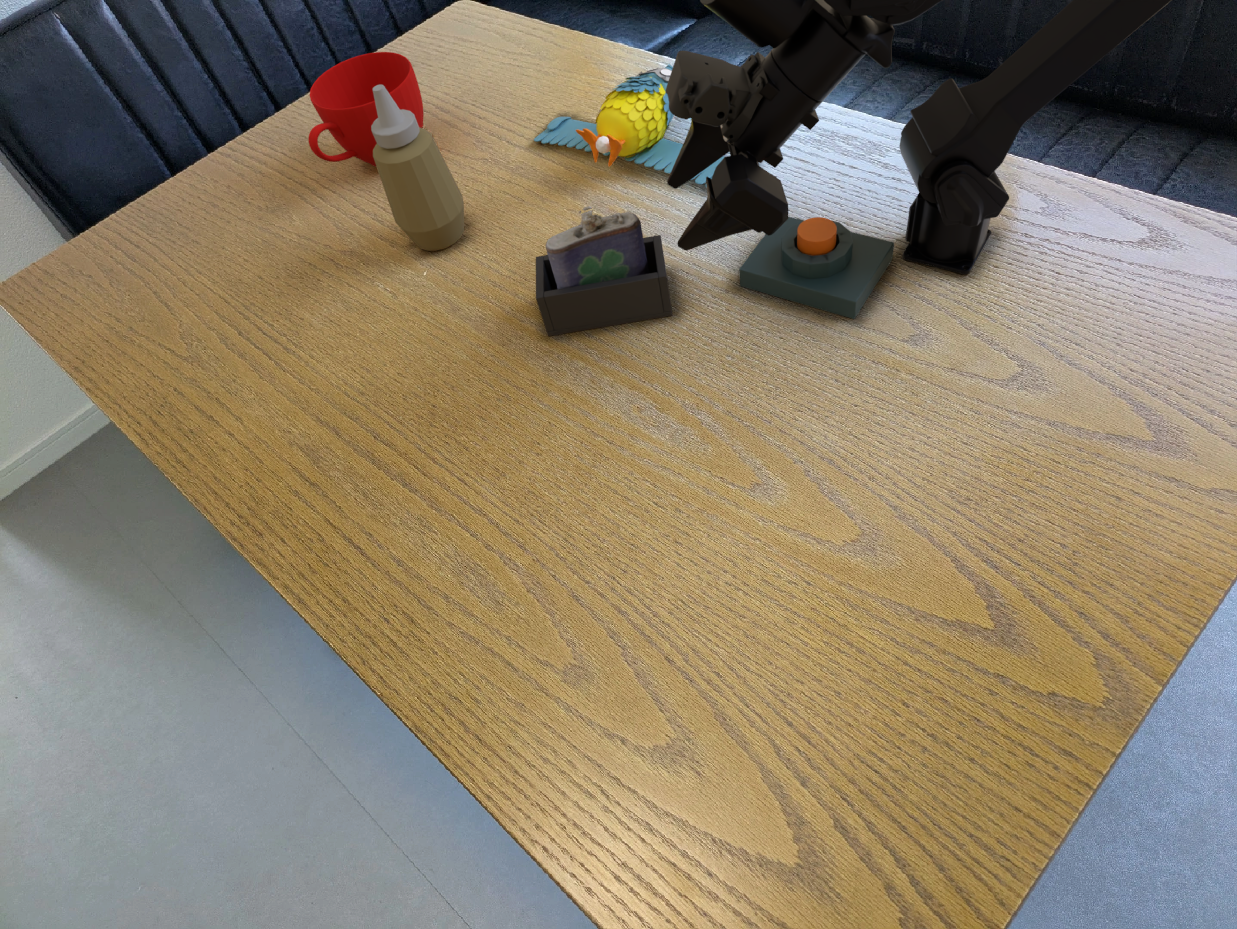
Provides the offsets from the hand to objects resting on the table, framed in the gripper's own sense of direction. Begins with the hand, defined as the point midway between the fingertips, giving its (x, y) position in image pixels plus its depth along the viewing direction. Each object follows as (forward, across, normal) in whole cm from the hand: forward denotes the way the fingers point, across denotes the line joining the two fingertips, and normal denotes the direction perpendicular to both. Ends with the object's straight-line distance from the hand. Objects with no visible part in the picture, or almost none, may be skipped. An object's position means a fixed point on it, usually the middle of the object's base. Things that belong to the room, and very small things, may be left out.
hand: (675, 215), depth 75 cm
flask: (+12, 0, +1) cm, 12 cm away
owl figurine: (+8, -26, +5) cm, 28 cm away
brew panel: (-2, 0, +16) cm, 16 cm away
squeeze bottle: (+26, -16, -12) cm, 33 cm away
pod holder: (+12, 0, +1) cm, 12 cm away
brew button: (-5, +1, +13) cm, 14 cm away
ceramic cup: (+32, -34, -19) cm, 51 cm away
